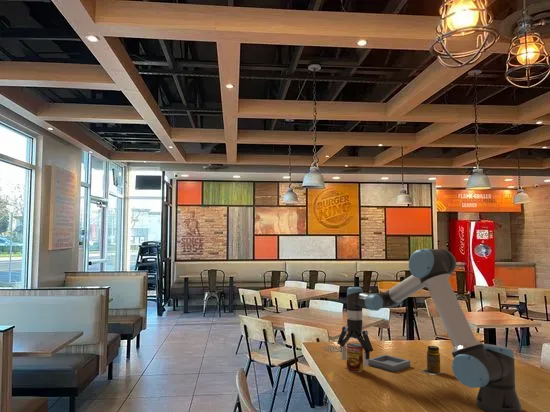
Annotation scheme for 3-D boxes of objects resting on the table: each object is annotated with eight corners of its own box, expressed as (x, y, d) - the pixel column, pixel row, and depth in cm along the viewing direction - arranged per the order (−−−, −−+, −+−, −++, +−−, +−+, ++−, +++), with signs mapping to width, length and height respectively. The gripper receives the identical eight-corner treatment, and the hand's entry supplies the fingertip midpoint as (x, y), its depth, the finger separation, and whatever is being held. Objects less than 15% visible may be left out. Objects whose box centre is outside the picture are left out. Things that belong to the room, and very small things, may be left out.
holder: (393, 372, 200) (393, 365, 201) (368, 365, 212) (368, 359, 212) (410, 366, 210) (410, 360, 211) (385, 360, 222) (385, 354, 222)
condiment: (444, 372, 201) (443, 347, 202) (433, 375, 197) (432, 349, 198) (431, 368, 207) (430, 344, 208) (420, 371, 203) (419, 346, 204)
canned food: (344, 370, 202) (344, 345, 203) (349, 366, 209) (349, 342, 210) (360, 373, 199) (360, 347, 200) (364, 368, 205) (364, 344, 207)
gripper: (380, 321, 199) (380, 367, 197) (340, 314, 218) (339, 355, 216) (371, 323, 194) (371, 370, 192) (330, 315, 213) (330, 358, 211)
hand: (354, 362), depth 204 cm, fingers open, 13 cm apart
